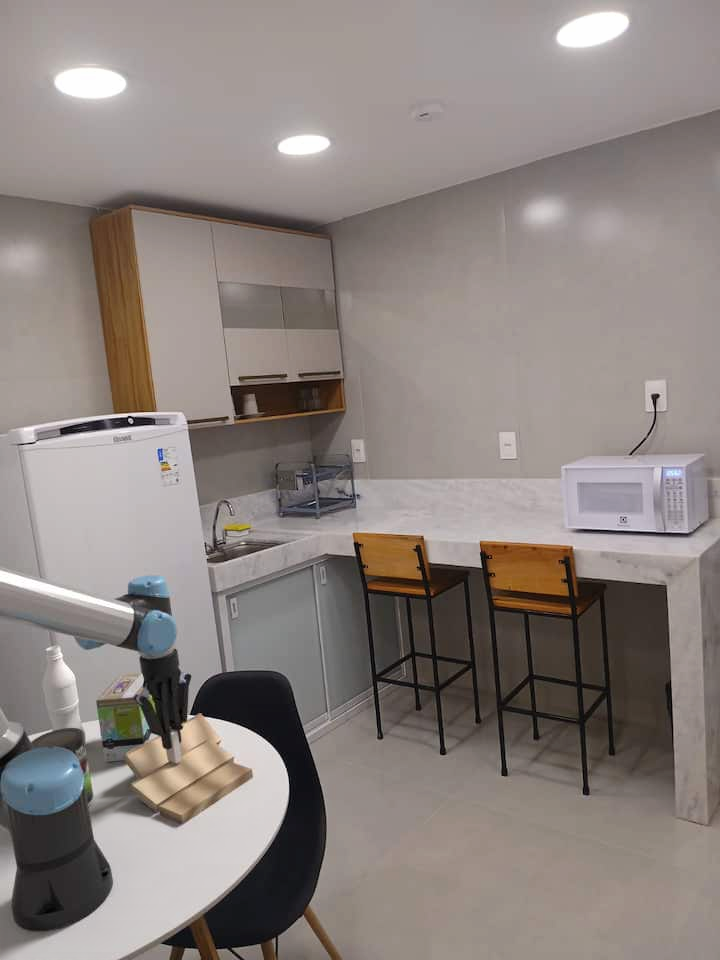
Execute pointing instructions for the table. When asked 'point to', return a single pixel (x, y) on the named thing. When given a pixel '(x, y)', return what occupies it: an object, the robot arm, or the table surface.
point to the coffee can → (72, 742)
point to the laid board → (205, 792)
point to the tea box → (122, 717)
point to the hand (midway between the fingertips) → (174, 760)
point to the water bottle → (61, 692)
